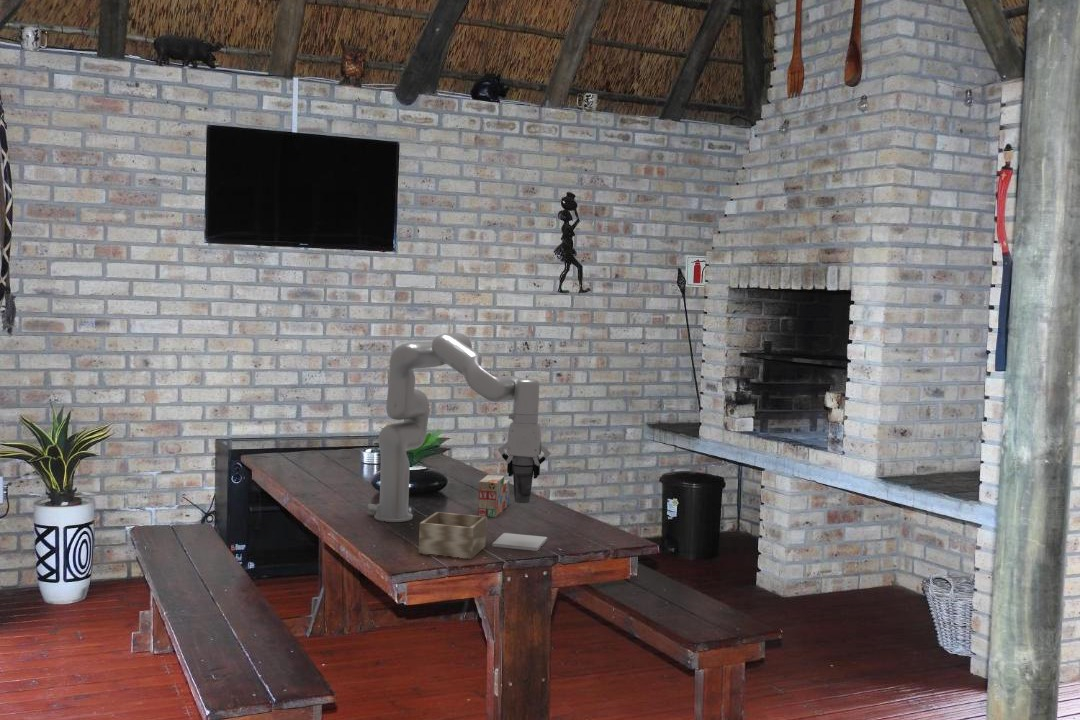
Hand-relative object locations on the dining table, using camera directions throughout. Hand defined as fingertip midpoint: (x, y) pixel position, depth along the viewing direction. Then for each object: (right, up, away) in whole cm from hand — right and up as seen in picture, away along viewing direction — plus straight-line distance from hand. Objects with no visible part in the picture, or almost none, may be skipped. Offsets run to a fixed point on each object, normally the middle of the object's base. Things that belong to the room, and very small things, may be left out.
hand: (523, 476), depth 331 cm
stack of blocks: (-11, -17, +46) cm, 50 cm away
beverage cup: (0, -8, +1) cm, 8 cm away
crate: (-21, -21, -9) cm, 31 cm away
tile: (-1, -21, +2) cm, 21 cm away
